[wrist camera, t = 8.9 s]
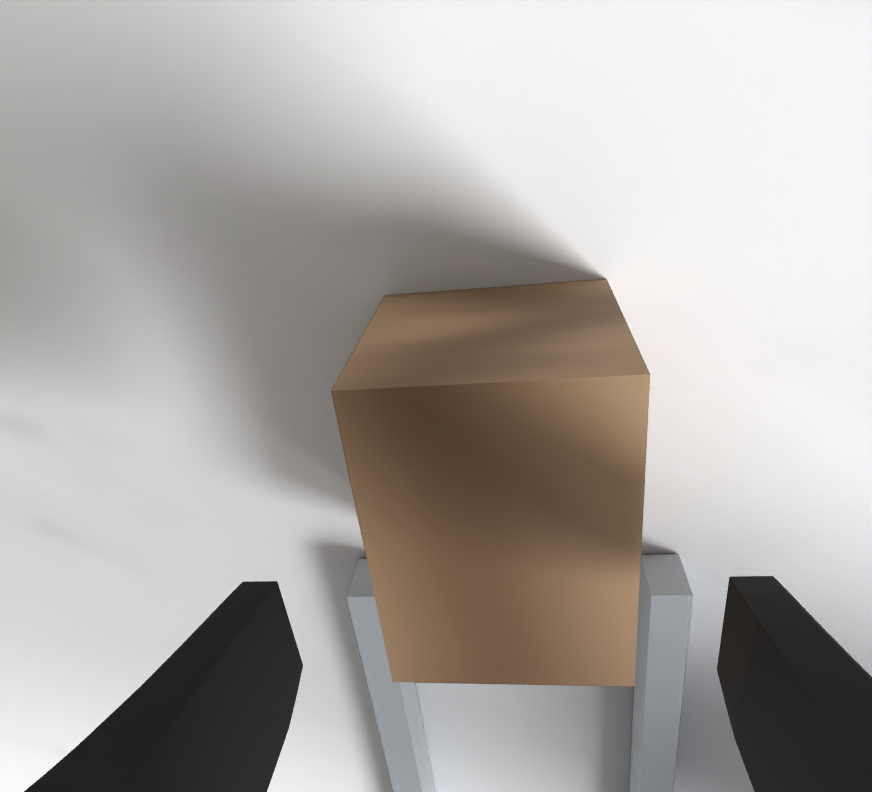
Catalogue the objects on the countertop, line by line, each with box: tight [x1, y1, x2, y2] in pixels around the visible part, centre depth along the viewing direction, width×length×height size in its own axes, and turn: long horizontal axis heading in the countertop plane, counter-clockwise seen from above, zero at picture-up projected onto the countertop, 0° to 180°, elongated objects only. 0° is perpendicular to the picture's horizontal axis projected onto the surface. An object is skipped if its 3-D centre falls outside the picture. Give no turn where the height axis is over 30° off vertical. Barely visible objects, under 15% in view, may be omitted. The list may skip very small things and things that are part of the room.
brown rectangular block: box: [331, 279, 650, 687], centre depth 14 cm, size 5×7×5 cm
